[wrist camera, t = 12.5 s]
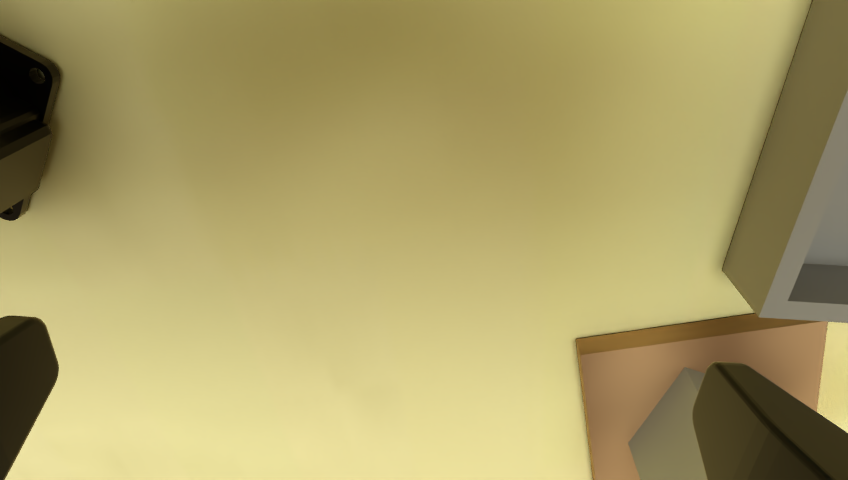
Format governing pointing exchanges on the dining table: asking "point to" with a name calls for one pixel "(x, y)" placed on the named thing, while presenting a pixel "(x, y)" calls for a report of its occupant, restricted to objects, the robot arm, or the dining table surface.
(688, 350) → the walnut pad
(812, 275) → the parts bin
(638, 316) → the dining table surface
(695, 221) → the dining table surface
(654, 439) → the labelled box
